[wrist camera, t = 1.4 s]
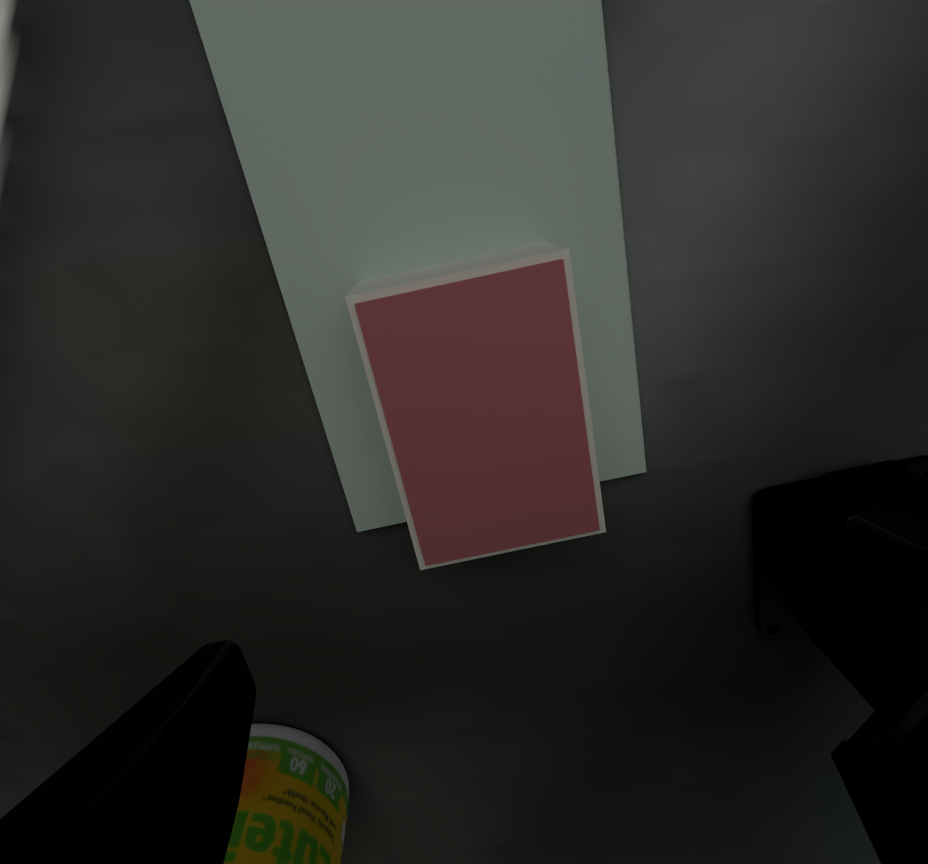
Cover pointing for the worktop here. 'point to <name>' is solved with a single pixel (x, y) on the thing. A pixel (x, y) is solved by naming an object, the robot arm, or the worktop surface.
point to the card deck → (483, 401)
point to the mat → (426, 180)
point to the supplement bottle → (289, 801)
